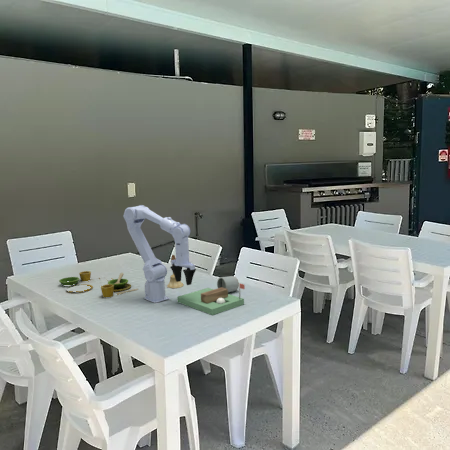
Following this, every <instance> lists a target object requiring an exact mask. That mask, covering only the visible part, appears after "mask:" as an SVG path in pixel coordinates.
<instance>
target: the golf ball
mask: <svg viewBox="0 0 450 450" xmlns="http://www.w3.org/2000/svg"><path fill="white" fill-rule="evenodd" d="M216 303H218V304H223V303H225V300H224V299H223V298H218V299H217V301H216Z"/></svg>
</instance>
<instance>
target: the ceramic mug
mask: <svg viewBox="0 0 450 450" xmlns="http://www.w3.org/2000/svg"><path fill="white" fill-rule="evenodd" d="M239 283H240V282H239V280H238V278H237V277H236V276H233V275H231V276H221V277H218V279H217V282H216V286H217V289H218V288H221V287H222V288H226V289H228V294H230V293H231V292H232V293H233V292H235V291H237V290H239Z"/></svg>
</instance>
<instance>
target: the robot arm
mask: <svg viewBox="0 0 450 450" xmlns="http://www.w3.org/2000/svg"><path fill="white" fill-rule="evenodd" d="M122 217H123V219H124V221H125V223H126V227H127V231H128V233H129V235H130V237H131V239H132V241H133V242H134V245H135V247H136V249H137V251H138V253H139V256H141V257H140V258H141V259H142V261H143V263H144V264H143V266H142V270H143V275H144V279H145V280H146V281H145V284H144V295H145V296H144V297H143V299H144V300H147V301H148V302H152V303H153V304H156V303H160V302H164V301H166V300H169V299H170V297H168V296H166V286H165V285H166V284H165V279H166V276H167V274H168V268H167V266H166V265H165V264H164V263H163V262H162V260H160V259H158V258H157V257H156V256H155V254H154V251H153V250H152V248H151V245H150V244H149V242H148V240H147V238H146V236H145V234H144V232H143V230H142V224H143V223H144V221H145V219H146V220H149V221H150V222H152V223H155V224H157V225H159V228H160V229H161V230H162V231H165V232H167V233H168V234H170V235H171V236H172V238H173V239H174V241H173V242H174V246H175V247H174V248H175V258H176V260H171V259H170V263H171V266H170V267H169V268H170V269H171V271H172V274H173V273H174V276H175V279H176V282H179V281H181V282H182V272H183V273H184V277H185V284H186V286H190V285H192V282H193V278H194V275H195V273H196V271H197V269H196V264H193V263H192V262H191V261H190V251H189V250H190V249H189V245H190V244H189V237H190V234H191V228H190V226H189V225H188V224H186V223H181V222H179V221H176V220H174V219H172V217H171V216H168V217H167V216H165V217H162V216H161V215H159V214H157V213H156V212H155V211H153V210H151V209H150V208H149V207H148V206H145V205H143V204H139V205H137V206H129V207H126V208H125V210H124V212H123V215H122ZM172 265H173V266H172ZM183 268H185V269H183Z"/></svg>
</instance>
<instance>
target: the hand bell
mask: <svg viewBox="0 0 450 450" xmlns="http://www.w3.org/2000/svg"><path fill="white" fill-rule="evenodd" d="M171 260H176V254H172V255H171V259H170V261H171ZM171 266H173V265H172V264H171ZM169 278H170V279H169V282H168V283H167V286H166V287H167V288H169V289H181V288H182V287H184V283H183V282H182V280H181V281H179V282H176V279H175V276H174V273H173V272H172V274H171V275H170V277H169Z"/></svg>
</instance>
